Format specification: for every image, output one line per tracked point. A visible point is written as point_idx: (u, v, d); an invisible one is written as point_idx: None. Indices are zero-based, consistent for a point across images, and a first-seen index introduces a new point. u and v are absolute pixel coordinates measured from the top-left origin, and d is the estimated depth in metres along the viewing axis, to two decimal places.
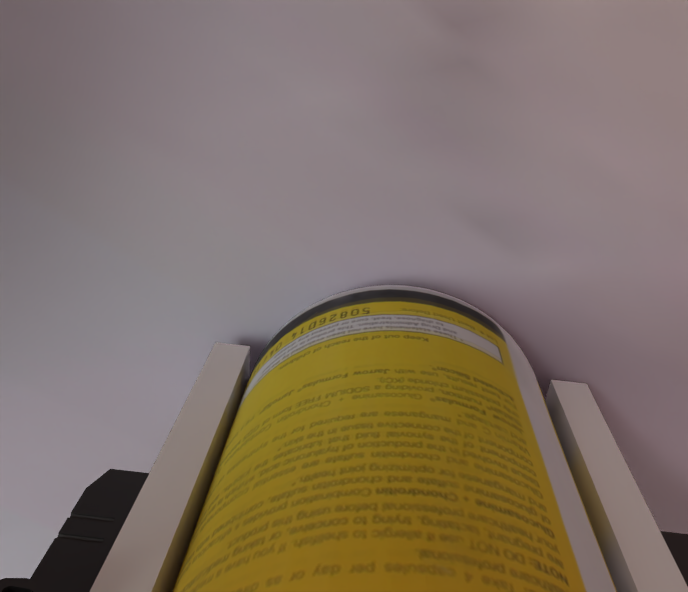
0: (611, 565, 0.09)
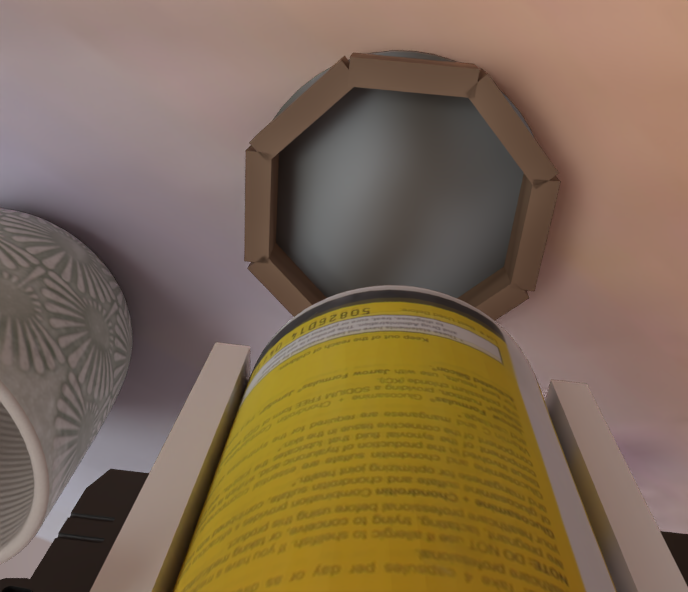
0: (611, 565, 0.09)
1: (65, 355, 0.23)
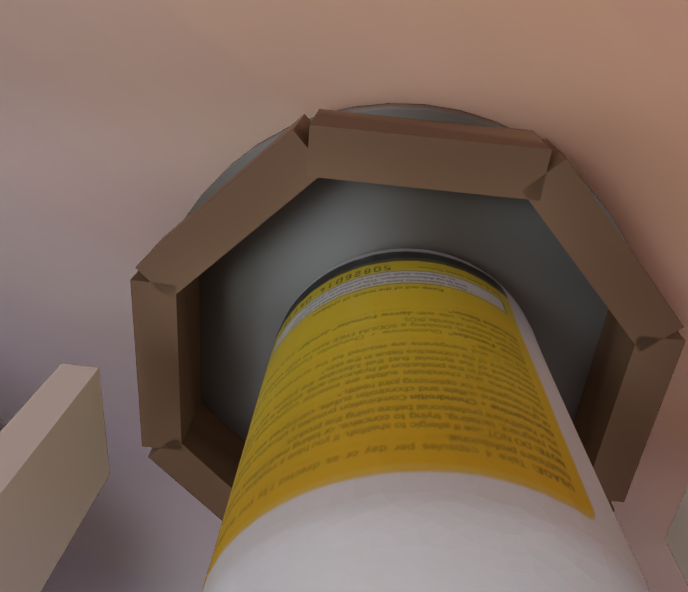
0: None
1: None
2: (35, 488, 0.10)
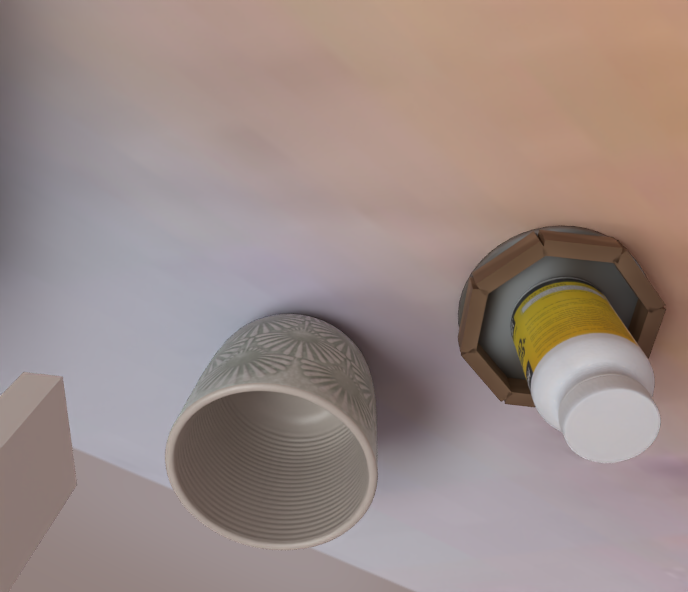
0: None
1: (372, 415, 0.38)
2: None
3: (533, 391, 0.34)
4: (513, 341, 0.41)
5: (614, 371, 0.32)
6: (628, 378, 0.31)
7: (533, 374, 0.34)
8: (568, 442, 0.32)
